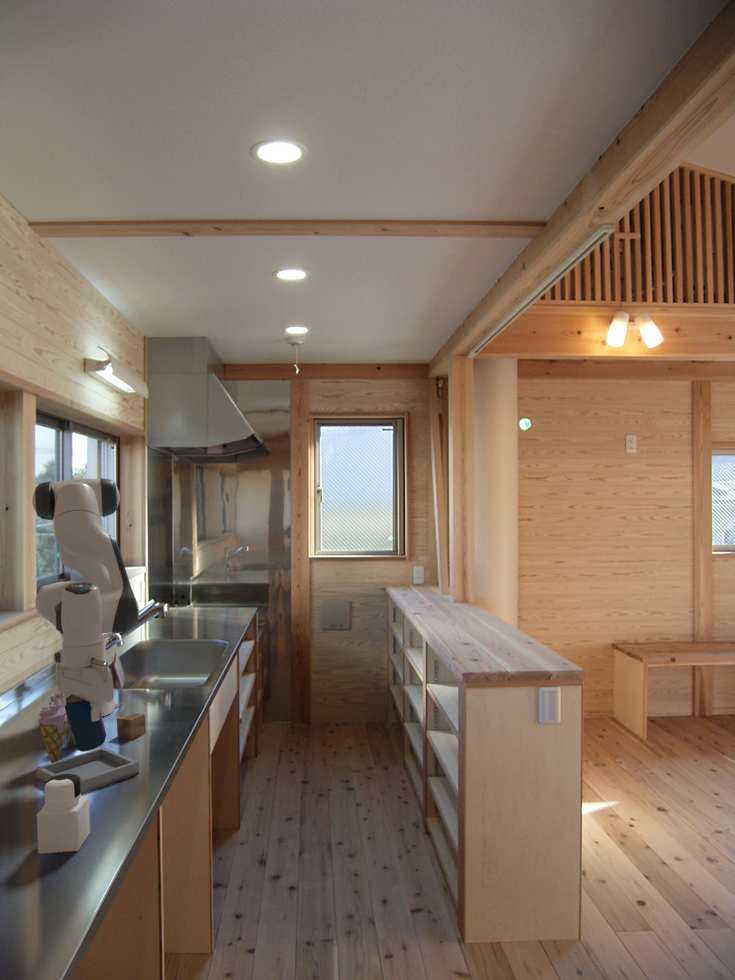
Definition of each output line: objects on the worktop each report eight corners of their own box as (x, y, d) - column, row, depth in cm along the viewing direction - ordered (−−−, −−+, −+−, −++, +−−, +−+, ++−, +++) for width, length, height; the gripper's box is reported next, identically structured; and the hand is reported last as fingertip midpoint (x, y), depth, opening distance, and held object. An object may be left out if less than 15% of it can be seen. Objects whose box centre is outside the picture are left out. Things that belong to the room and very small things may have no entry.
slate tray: (36, 779, 162) (36, 767, 162) (104, 757, 173) (103, 747, 173) (70, 797, 151) (69, 785, 151) (138, 773, 163) (138, 762, 163)
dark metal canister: (62, 746, 183) (61, 711, 183) (81, 741, 186) (80, 706, 186) (71, 750, 179) (70, 714, 179) (90, 745, 183) (89, 709, 183)
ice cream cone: (76, 760, 173) (74, 697, 173) (57, 770, 167) (55, 705, 167) (54, 757, 175) (52, 696, 175) (34, 767, 169) (32, 703, 169)
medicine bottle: (51, 835, 134) (49, 771, 134) (90, 832, 134) (88, 768, 135) (37, 855, 127) (34, 787, 127) (78, 851, 127) (76, 784, 127)
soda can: (114, 738, 164) (102, 688, 162) (91, 754, 158) (78, 702, 156) (91, 737, 167) (79, 688, 165) (68, 752, 161) (56, 702, 159)
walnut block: (117, 737, 189) (116, 718, 189) (131, 731, 193) (131, 712, 193) (131, 739, 186) (130, 720, 186) (145, 733, 191) (144, 714, 191)
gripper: (120, 658, 157) (122, 722, 157) (76, 648, 171) (78, 706, 171) (92, 664, 153) (94, 729, 153) (49, 653, 167) (51, 713, 166)
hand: (85, 717), depth 162 cm, fingers closed on soda can, 7 cm apart
